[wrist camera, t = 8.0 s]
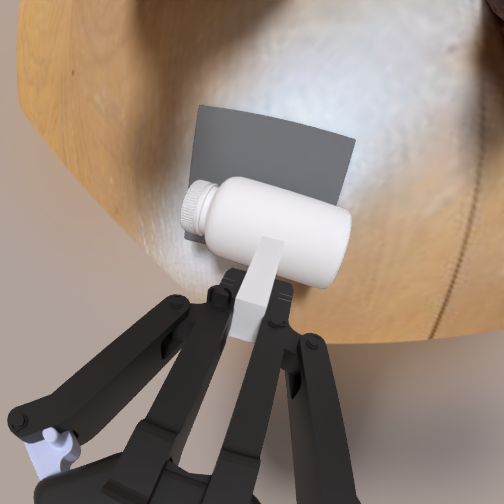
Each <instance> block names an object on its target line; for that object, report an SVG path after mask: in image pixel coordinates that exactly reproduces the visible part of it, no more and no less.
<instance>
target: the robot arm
mask: <svg viewBox="0 0 504 504" xmlns="http://www.w3.org/2000/svg"><path fill="white" fill-rule="evenodd" d="M283 246H284V241H280V240H277V239H273V238H270V237H266V236H262V238H261V240H260V243H259V245H258V247H257V250H256V252H255V254H254V257H253V259H252V261H251V264H250V266H249V268H248V271H247V272H246V271H242V270H239V269H235V268H231V269H230V270H228V271H227V272H226V273H225V275H224V277H223V279H222V281H221V283H220V285H215V286H212V287H210V288H209V289H208V294H207V302H206V303H202V304H192V303H190V302H189V300H188V299H187V298H186V297H185V296H182V295H176V294H174V295H170V296H168V297H166V298H165V299H164V300H163V301H161V302H160V303H159V304H158V305H157V306H155V307H154V308H153V309H152V310H150V311H149V312H148V313H147V314H146V315H144V316H143V317H142V318H141V319H139V320H138V321H137V322H136V323H135V324H133V325H132V326H131V327H130V328H129V329H127V330H126V331H125V332H124V333H123V334H122V335H120V336H119V337H118V338H117V339H115V340H114V341H113V342H112V343H111V344H109V345H108V346H107V347H106V348H105V349H103V350H102V351H101V352H100V353H99V354H98V355H96V356H95V357H94V358H93V359H92V360H91V361H89V362H88V363H87V364H86V365H85V366H83V367H82V368H81V369H80V370H79V371H78V372H76V373H75V374H74V375H73V376H72V377H71V378H69V379H68V380H67V381H66V382H65V383H64V384H62V385H61V386H60V387H59V388H58V389H57V390H56V391H54V392H53V393H52V394H51V395H48V396H45V397H43V398H40V399H38V400H35V401H32V402H29V403H26V404H24V405H21V406H18V407H15V408H14V409H12V410H11V411H10V413H9V415H8V419H7V421H8V426H9V428H10V430H11V432H13V433H14V434H15V435H16V436H17V437H18V438H20V439H21V440H22V441H23V442H24V444H25V446H26V449H27V451H28V454H29V456H30V459H31V461H32V463H33V466H34V468H35V470H36V472H37V474H38V477H39V478H40V482H39V483H38V484H37V486H36V488H35V491H34V504H261V503H260V502H259V500H258V499H257V498H256V497H255V496H254V495H253V490H254V486H255V483H256V479H257V475H258V471H259V467H260V461H261V460H260V455H261V450H262V446H263V442H264V438H265V434H266V430H267V426H268V422H269V418H270V413H271V409H272V405H273V400H274V395H275V391H276V386H277V381H278V377H279V372H280V368H281V369H283V370H285V377H286V387H287V397H288V407H289V417H290V429H291V440H292V451H293V462H294V473H295V474H294V475H295V487H296V500H297V504H361V503H360V501H359V500H358V498H357V496H356V491H355V484H354V478H353V472H352V466H351V460H350V454H349V449H348V444H347V438H346V433H345V428H344V423H343V418H342V413H341V408H340V404H339V399H338V394H337V389H336V385H335V380H334V376H333V372H332V367H331V363H330V359H329V355H328V350H327V346H326V343H325V341H324V339H323V338H322V337H321V336H319V335H317V334H313V333H306V334H304V335H300V334H299V333H297V332H295V331H294V330H293V329H292V328H291V327H290V325H289V322H288V318H289V313H290V307H291V301H292V296H293V288H292V285H291V284H290V283H287V282H283V281H279V280H276V279H275V276H276V272H277V269H278V265H279V261H280V257H281V254H282V250H283ZM228 333H229V334H228ZM227 335H229V336H231V337H234V338H238V339H241V340H244V341H248V342H251V343H255V345H254V348H253V351H252V354H251V358H250V361H249V365H248V367H247V371H246V374H245V378H244V380H243V383H242V387H241V390H240V393H239V396H238V399H237V402H236V405H235V408H234V412H233V415H232V418H231V421H230V424H229V427H228V430H227V433H226V436H225V439H224V442H223V445H222V448H221V450H220V454H219V457H218V460H217V462H216V465H215V468H214V471H213V473H212V475H203V474H193V473H188V472H186V471H185V470H183V469H182V468H180V467H178V464H179V461H180V458H181V454H182V451H183V448H184V446H185V443H186V441H187V438H188V436H189V434H190V431H191V428H192V426H193V423H194V421H195V419H196V416H197V414H198V411H199V409H200V406H201V404H202V401H203V399H204V396H205V394H206V391H207V389H208V386H209V384H210V381H211V379H212V376H213V374H214V371H215V369H216V366H217V364H218V361H219V359H220V356H221V354H222V351H223V349H224V346H225V343H226V339H227ZM181 348H182V349H181ZM180 349H181V351H180V353H179V355H178V357H177V359H176V361H175V362H174V364H173V366H172V368H171V370H170V372H169V374H168V376H167V378H166V380H165V381H164V384H163V385H162V387H161V389H160V391H159V393H158V395H157V397H156V399H155V401H154V403H153V405H152V407H151V409H150V410H149V412H148V414H147V416H146V418H145V419H143V420H141V421H140V422H139V423H138V424H137V426H136V428H135V430H134V431H133V434H132V435H131V437H130V439H129V441H128V443H127V445H126V447H125V449H124V451H123V452H120V453H116V454H113V455H111V456H108V457H106V458H103V459H101V460H98V461H95V462H92V463H90V464H87V465H84V466H81V467H78V468H75V469H72V470H70V466H71V465H72V463H74V462H75V461H76V460H77V459H78V458H79V456H80V454H81V447H80V446H81V445H83V444H85V443H86V442H88V441H89V440H91V439H92V438H93V437H94V436H95V435H97V434H98V433H99V432H100V431H101V430H102V429H103V428H104V427H105V426H106V425H107V424H108V423H109V422H110V421H111V420H112V419H113V418H114V417H115V416H116V415H117V414H118V413H119V412H120V411H121V410H122V409H123V408H124V407H125V406H126V405H127V404H128V403H129V402H130V401H131V400H132V399H133V398H134V397H135V396H136V395H137V394H138V393H139V392H140V391H141V390H142V389H143V387H144V386H146V384H147V383H148V382H149V381H150V380H151V379H152V378H153V377H154V376H155V375H156V374H157V373H158V372H159V371H160V370H161V369H162V368H163V367H164V366H165V365H166V364H167V363H168V362H169V361H170V360H171V358H173V357H174V355H176V354H177V353H178V351H179V350H180Z"/></svg>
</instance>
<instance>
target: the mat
mask: <svg viewBox="0 0 504 504" xmlns="http://www.w3.org/2000/svg"><path fill="white" fill-rule="evenodd" d="M355 141H356V140H355V139H352V138H349V137H346V136H342V135H339V134H336V133H332V132H329V131H326V130H322V129H318V128H315V127H311V126H307V125H303V124H299V123H295V122H291V121H287V120H283V119H278V118H274V117H269V116H264V115H259V114H254V113H248V112H243V111H237V110H231V109H225V108H218V107H211V106H203V105H199V109H198V116H197V122H196V129H195V137H194V144H193V152H192V161H191V169H190V178H189V188H190V186H191V185H192V184H193V183H194V182H195V181H197V180H204V181H208V182H211V183H213V184H214V183H215V184H217V185H218V186H219V187H220V186H221V184H222V183H223V182H224V181H226V180H227V179H229V178H231V177H245V178H248V179H252V180H255V181H259V182H262V183H266V184H269V185H272V186H276V187H279V188H282V189H286V190H289V191H292V192H295V193H298V194H302V195H305V196H308V197H311V198H314V199H317V200H320V201H323V202H326V203H329V204H332V205H335V206H336V204H337V201H338V198H339V195H340V192H341V189H342V186H343V182H344V179H345V176H346V172H347V169H348V166H349V162H350V159H351V155H352V152H353V148H354V145H355ZM189 188H188V189H189ZM184 238H186V239H189V240H193V241H196V242H200V243H203V244H206V241H205V234H204V235H203V236H200V235H198V234H194V233H191V232H188V231H185V236H184Z"/></svg>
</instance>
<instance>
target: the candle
mask: <svg viewBox="0 0 504 504" xmlns="http://www.w3.org/2000/svg"><path fill="white" fill-rule="evenodd" d="M487 2H488V3H489V5H490V7H491V9H492V10H493V11H494V13H495V14H496V15H498V16H499V17H500V18H502V19H503V20H504V0H487Z"/></svg>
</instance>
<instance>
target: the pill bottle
mask: <svg viewBox="0 0 504 504" xmlns="http://www.w3.org/2000/svg"><path fill="white" fill-rule="evenodd" d="M180 223H181V226H182V228H183V229H184V230H185V231H188V232H191V233H194V234H198V235H200V236H203V235H204V234H205V241H206V245H207V247H208V249H209V250H210V251H211V252H212V253H214V254H215V255H217V256H220V257H223V258H226V259H229V260H232V261H235V262H238V263H241V264H244V265H247V266H250V264H251V261H252V259H253V257H254V254H255V252H256V250H257V247H258V245H259V243H260V240H261V238H262V236H266V237H270V238H273V239H277V240H280V241H284V246H283V250H282V254H281V257H280V261H279V265H278V269H277V272H276V275H277V276H280V277H284V278H287V279H290V280H293V281H296V282H299V283H302V284H305V285H308V286H311V287H315V288H319V289H326V288H327V287H328V286H329V285H330V284H331V283H332V281H333V280H334V278H335V276H336V274H337V272H338V270H339V268H340V266H341V263H342V261H343V258H344V255H345V252H346V249H347V245H348V241H349V236H350V231H351V214H350V213H349V212H348V211H347V210H345V209H342V208H340V207H338V206H335V205H332V204H329V203H326V202H323V201H320V200H317V199H314V198H311V197H308V196H305V195H302V194H298V193H295V192H292V191H289V190H286V189H282V188H279V187H276V186H272V185H269V184H266V183H262V182H259V181H255V180H252V179H248V178H245V177H231V178H229V179H227V180H226V181H224V182H223V183H222V184H221V186H220V187H219V186H218V185H217V184H215V183H214V184H213V183H211V182H208V181H204V180H197V181H195V182H194V183H193V184H192V185H191V186H190V188H189V189H188V191H187V193H186V195H185V197H184V200H183V203H182V207H181V213H180Z"/></svg>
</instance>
